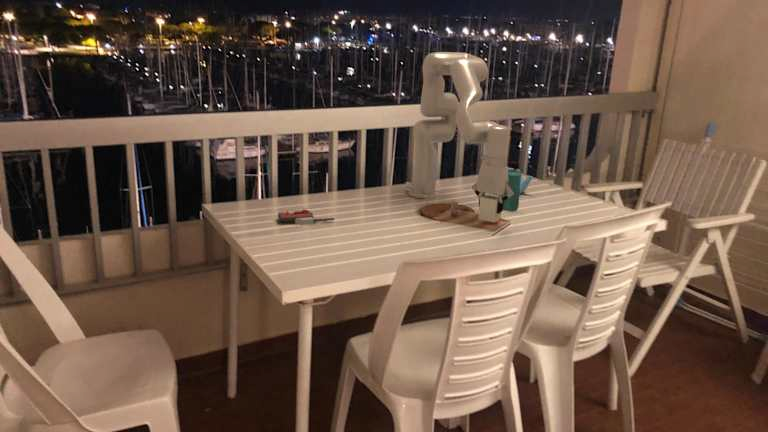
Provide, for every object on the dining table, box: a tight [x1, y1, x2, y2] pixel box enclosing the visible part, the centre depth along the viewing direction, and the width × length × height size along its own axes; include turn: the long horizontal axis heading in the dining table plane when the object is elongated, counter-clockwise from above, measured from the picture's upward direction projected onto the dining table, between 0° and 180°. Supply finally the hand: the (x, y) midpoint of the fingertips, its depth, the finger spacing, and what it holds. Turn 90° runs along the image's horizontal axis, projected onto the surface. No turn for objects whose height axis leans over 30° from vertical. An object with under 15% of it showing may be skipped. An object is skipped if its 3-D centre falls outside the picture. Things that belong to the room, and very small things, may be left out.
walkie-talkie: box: [277, 208, 335, 226], centre depth 214 cm, size 9×4×20 cm
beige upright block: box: [478, 193, 502, 222], centre depth 214 cm, size 6×6×8 cm
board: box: [432, 201, 511, 237], centre depth 219 cm, size 24×16×6 cm, turn 57°
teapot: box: [507, 166, 533, 195], centre depth 263 cm, size 15×15×11 cm
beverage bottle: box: [503, 161, 522, 212], centre depth 231 cm, size 6×7×20 cm
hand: (490, 210), depth 214 cm, fingers closed on beige upright block, 6 cm apart
